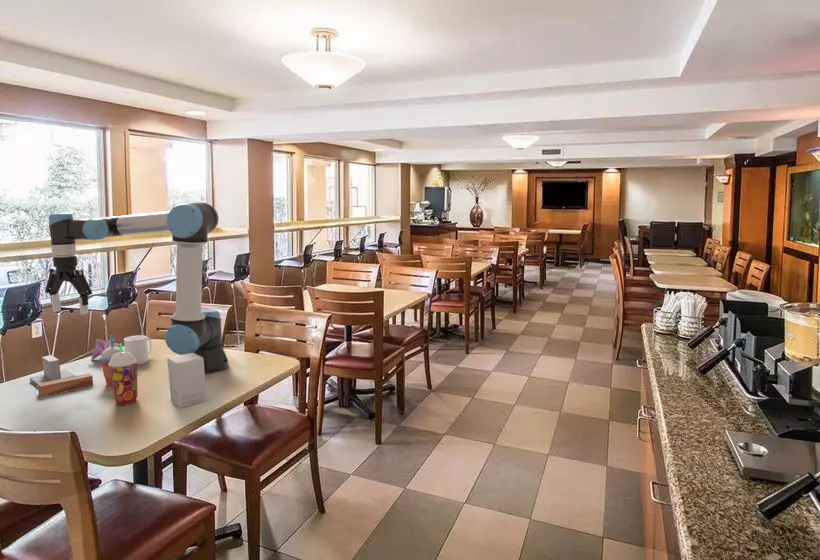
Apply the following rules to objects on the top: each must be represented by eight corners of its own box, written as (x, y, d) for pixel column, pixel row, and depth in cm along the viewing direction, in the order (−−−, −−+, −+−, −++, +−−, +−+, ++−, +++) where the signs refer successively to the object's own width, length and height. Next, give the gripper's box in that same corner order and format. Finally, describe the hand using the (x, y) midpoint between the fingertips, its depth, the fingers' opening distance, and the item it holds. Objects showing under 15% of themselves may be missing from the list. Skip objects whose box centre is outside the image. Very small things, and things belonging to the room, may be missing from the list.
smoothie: (121, 397, 190) (115, 340, 187) (145, 397, 190) (140, 340, 186) (107, 406, 182) (100, 347, 178) (132, 406, 181) (126, 346, 178)
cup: (121, 363, 227) (119, 339, 226) (144, 355, 239) (142, 332, 237) (137, 365, 225) (134, 341, 223) (159, 357, 236) (157, 334, 234)
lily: (126, 357, 240) (117, 337, 241) (122, 353, 229) (112, 332, 230) (97, 370, 235) (87, 349, 236) (91, 367, 224) (81, 345, 225)
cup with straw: (122, 377, 210) (117, 331, 207) (135, 382, 205) (130, 334, 202) (97, 384, 203) (92, 336, 200) (109, 389, 198) (104, 340, 195)
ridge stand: (75, 379, 209) (73, 357, 208) (38, 387, 200) (35, 364, 199) (66, 373, 216) (64, 352, 214) (30, 381, 207) (27, 359, 206)
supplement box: (207, 401, 185) (204, 357, 183) (180, 408, 180) (176, 363, 177) (197, 394, 192) (193, 351, 190) (170, 400, 186) (166, 357, 184)
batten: (93, 386, 202) (92, 375, 202) (41, 397, 191) (40, 386, 191) (90, 383, 205) (89, 373, 204) (38, 394, 194) (37, 383, 194)
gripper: (99, 255, 204) (104, 312, 207) (48, 253, 212) (54, 308, 215) (81, 258, 197) (87, 317, 200) (29, 255, 205) (36, 312, 208)
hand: (70, 312), depth 208 cm, fingers open, 13 cm apart
